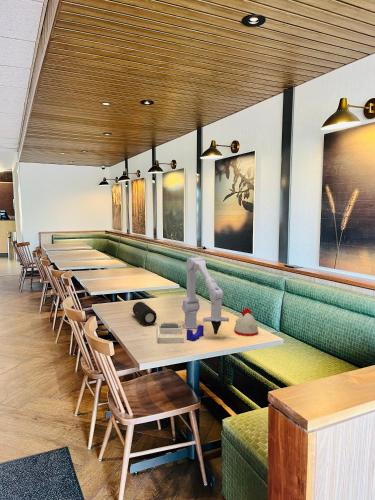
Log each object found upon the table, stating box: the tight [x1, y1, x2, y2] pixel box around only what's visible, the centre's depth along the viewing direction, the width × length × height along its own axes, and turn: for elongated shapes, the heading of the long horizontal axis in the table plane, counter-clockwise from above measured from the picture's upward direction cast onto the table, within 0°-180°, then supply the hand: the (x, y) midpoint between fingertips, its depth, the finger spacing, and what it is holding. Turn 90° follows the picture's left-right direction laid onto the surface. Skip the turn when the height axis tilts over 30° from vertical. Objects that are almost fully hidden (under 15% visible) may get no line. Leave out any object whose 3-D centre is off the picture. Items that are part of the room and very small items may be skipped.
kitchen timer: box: [233, 307, 259, 337], centre depth 214 cm, size 14×14×15 cm
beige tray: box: [157, 324, 185, 344], centre depth 205 cm, size 21×14×3 cm, turn 6°
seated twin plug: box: [160, 322, 179, 328], centre depth 212 cm, size 4×10×5 cm, turn 96°
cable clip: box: [186, 324, 205, 342], centre depth 203 cm, size 12×4×6 cm, turn 142°
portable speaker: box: [132, 301, 158, 326], centre depth 234 cm, size 26×10×10 cm, turn 24°
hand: (215, 333), depth 204 cm, fingers closed
